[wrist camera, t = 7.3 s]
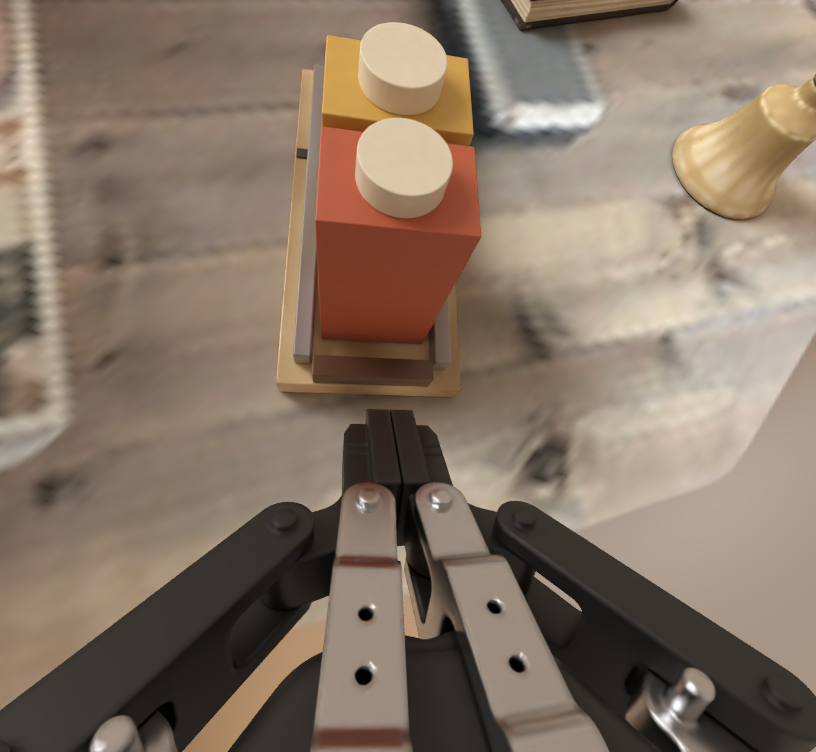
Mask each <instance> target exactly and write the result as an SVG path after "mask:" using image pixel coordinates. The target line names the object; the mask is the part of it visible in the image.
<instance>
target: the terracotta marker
mask: <svg viewBox="0 0 816 752" xmlns="http://www.w3.org/2000/svg"><path fill="white" fill-rule="evenodd" d="M315 229H316V248H317V266H318V284H319V303H320V321H321V338H322V339H329V340H348V341H367V342H386V343H404V344H422V343H423V342H424V340H425V338H426V336H427V334H428V333H429V331H430V329H431V327H432V325H433V323H434V322H435V320H436V318H437V316H438V314H439V313H440V311H441V309H442V307H443V305H444V303H445V302H446V300H447V298H448V296H449V294H450V293H451V291H452V289H453V287H454V285H455V283H456V282H457V280H458V278H459V276H460V274H461V273H462V271H463V269H464V267H465V265H466V263H467V262H468V260H469V258H470V256H471V254H472V253H473V251H474V249H475V247H476V245H477V243H478V242H479V240H480V238H481V228H480V214H479V201H478V188H477V174H476V161H475V148H474V147H470V146H462V145H455V144H448V143H446V142H445V141H444V139H443V138H442V137H441V136H440V135H439V134H438V133H437V132H436V131H434V130H433V129H432V128H430V127H429V126H427V125H425V124H423V123H420V122H418V121H415V120H411V119H406V118H389V119H384V120H381V121H378V122H376V123H374V124H372V125H371V126H369V127H368V128H367V129H366V130H365V131H364V132H359V131H352V130H344V129H337V128H330V127H321V133H320V149H319V165H318V181H317V197H316V212H315Z"/></svg>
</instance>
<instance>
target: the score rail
mask: <svg viewBox="0 0 816 752" xmlns="http://www.w3.org/2000/svg"><path fill="white" fill-rule="evenodd" d="M324 70H325V65H321V64H314V71H313V70H307V69H303V70H302V79H301V91H300V103H299V114H298V126H297V138H296V150H295V162H294V173H293V185H292V197H291V209H290V220H289V232H288V244H287V256H286V268H285V279H284V291H283V303H282V315H281V327H280V338H279V350H278V362H277V374H276V384H277V387H278V389H279V391H280V392H308V393H339V394H370V395H401V396H431V397H454V396H455V395H456V394H457V393H458V392H459V391H460V390H461V382H460V363H459V343H458V324H457V305H456V285H454V287H453V289H452V291H451V293H450V294H449V296H448V298H447V300H446V302H445V303H444V305H443V307H442V309H441V311H440V313H439V314H438V316H437V318H436V320H435V322H434V323H433V325H432V327H431V329H430V331H429V333H428V334H427V336H426V338H425V340H424V342H423V343H422V344H404V343H386V342H367V341H348V340H329V339H322V338H321V321H320V303H319V284H318V266H317V248H316V229H315V212H316V197H317V181H318V165H319V149H320V133H321V127H322V102H323V86H324Z"/></svg>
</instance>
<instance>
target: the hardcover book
mask: <svg viewBox="0 0 816 752" xmlns="http://www.w3.org/2000/svg"><path fill="white" fill-rule="evenodd" d="M502 1H503V3H504V5H505V6H506V8H507V9H508V11H509V13H510V14H511V16H512V17H513V19H514V21H515V22H516V24H517V25H518V27H519V29H520V30H522V29H529V28H536V27H544V26H551V25H559V24H566V23H574V22H581V21H588V20H596V19H603V18H611V17H618V16H626V15H633V14H640V13H648V12H655V11H663V10H668V9H669V8H671V7H672V6H673V5H674V4H675V3H676V2H677V1H678V0H502Z"/></svg>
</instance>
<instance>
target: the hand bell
mask: <svg viewBox="0 0 816 752" xmlns="http://www.w3.org/2000/svg"><path fill="white" fill-rule="evenodd" d="M814 140H816V74H815V76H814V77H812V78H811V79H810V80H809V81H807V82H806V83H805V84H804V85H802V86H801V87H799V88H798V87H794V86H790V85H784V84H779V85H774V86H772V87H769V88H768V89H766V90H765V91H763V92H762V93H761V94H760V95H759V96H757V97H756V98H755V99H754V100H752V101H751V102H750V103H748V104H747V105H746V106H744V107H743V108H742V109H740V110H739V111H737V112H736V113H734V114H732V115H731V116H729V117H727V118H725V119H724V120H721V121H719V122H716V123H713V124H702V125H698V126H695V127H692V128H690V129H688V130H686V131H685V132H683V133H682V134H681V135H680V136H679V137H678V139H677V140H676V142H675V144H674V147H673V153H672V156H673V157H672V159H673V165H674V169H675V171H676V174H677V176H678V178H679V180H680V181H681V183H682V185H683V186H684V188H685V189H686V190H687V191H688V193H689V194H690V195H691V196H692V197H693V198H694V199H695V200H696V201H697V202H698V203H700V204H701V205H703V206H704V207H706V208H707V209H709V210H711V211H713V212H715V213H717V214H719V215H721V216H724V217H727V218H731V219H749V218H753V217H756V216H758V215H760V214H761V213H763V212H764V211H765V210H766V208H767V207H768V206H769V204H770V203H771V201H772V199H773V197H774V194H775V190H776V183H777V181H778V179H779V177H780V176H781V174H782V173H783V171H784V170H785V169H786V168H787V167H788V165H789V164H790V163H791V162H792V161H793V160H794V159H795V158H796V157H797V156H798V155H799V154H800V153H801V152H802V151H803V150H804V149H805V148H806V147H808V146H809V145H810V144H811V143H812V142H813V141H814Z"/></svg>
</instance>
